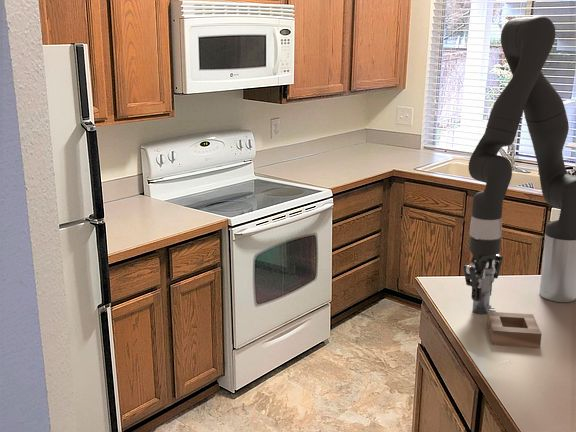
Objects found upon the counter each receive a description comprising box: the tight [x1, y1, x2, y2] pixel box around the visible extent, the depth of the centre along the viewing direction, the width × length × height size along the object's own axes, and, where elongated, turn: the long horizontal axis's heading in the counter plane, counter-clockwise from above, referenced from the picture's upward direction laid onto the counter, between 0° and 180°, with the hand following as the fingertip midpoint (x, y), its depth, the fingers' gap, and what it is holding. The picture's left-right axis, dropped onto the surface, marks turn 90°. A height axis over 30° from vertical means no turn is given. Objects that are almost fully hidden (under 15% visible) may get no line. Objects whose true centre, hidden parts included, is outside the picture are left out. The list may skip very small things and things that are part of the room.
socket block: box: [486, 311, 543, 349], centre depth 143 cm, size 10×10×4 cm
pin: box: [472, 267, 494, 315], centre depth 156 cm, size 5×5×12 cm
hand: (481, 297), depth 156 cm, fingers closed on pin, 4 cm apart
